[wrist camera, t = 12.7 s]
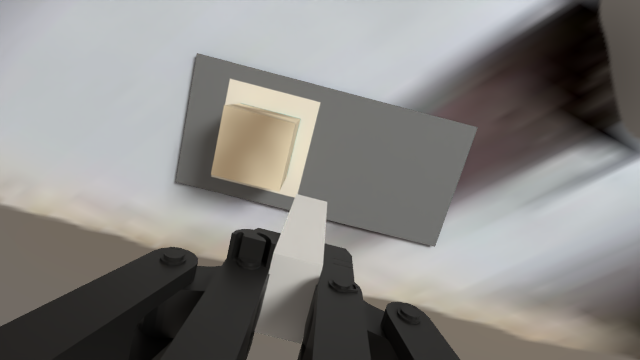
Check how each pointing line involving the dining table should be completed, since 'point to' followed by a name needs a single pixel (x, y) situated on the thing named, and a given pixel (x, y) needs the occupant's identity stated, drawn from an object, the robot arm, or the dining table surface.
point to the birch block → (255, 146)
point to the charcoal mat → (333, 151)
